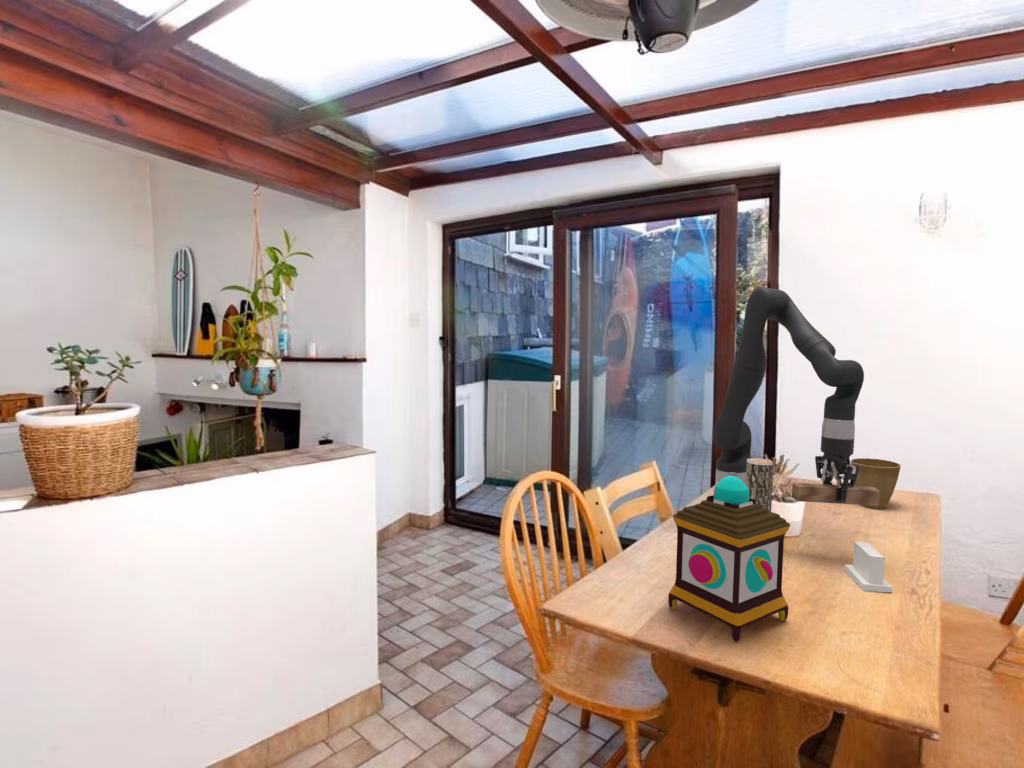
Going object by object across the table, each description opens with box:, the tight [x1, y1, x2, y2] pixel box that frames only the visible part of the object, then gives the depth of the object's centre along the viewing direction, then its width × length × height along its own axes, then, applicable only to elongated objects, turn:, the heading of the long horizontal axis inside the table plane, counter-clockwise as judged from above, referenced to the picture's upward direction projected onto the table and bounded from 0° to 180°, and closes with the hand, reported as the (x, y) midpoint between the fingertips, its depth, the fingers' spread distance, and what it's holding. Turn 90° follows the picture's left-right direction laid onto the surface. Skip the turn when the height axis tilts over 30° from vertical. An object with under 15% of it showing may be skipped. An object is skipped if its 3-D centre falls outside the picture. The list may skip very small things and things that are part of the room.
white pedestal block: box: [844, 541, 893, 593], centre depth 135 cm, size 6×12×8 cm, turn 167°
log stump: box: [746, 457, 774, 512], centre depth 156 cm, size 7×7×25 cm
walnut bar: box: [791, 482, 880, 506], centre depth 147 cm, size 20×4×4 cm, turn 81°
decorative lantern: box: [667, 476, 791, 643], centre depth 117 cm, size 20×20×30 cm
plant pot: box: [850, 457, 902, 510], centre depth 197 cm, size 15×15×16 cm
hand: (833, 498), depth 147 cm, fingers closed on walnut bar, 4 cm apart
